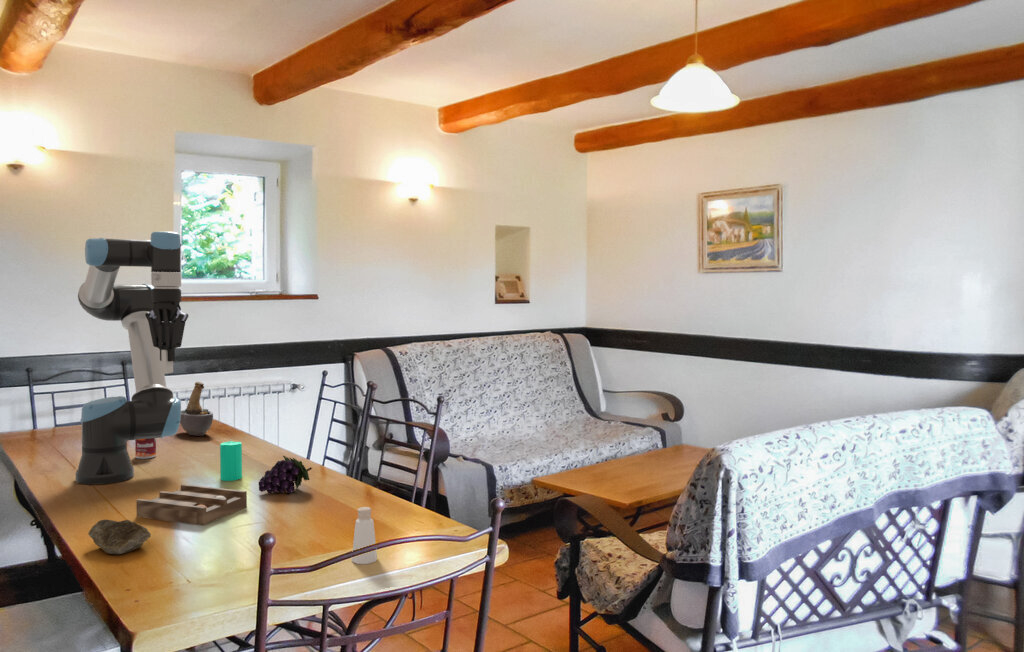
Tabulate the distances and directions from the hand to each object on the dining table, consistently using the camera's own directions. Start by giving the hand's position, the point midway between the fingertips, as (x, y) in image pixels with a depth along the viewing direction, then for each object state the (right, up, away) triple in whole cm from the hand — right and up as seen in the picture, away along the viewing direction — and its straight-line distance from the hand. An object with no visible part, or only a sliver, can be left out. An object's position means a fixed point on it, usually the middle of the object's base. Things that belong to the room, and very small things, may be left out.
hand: (167, 372), depth 215 cm
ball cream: (+21, -32, -18) cm, 43 cm away
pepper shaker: (+65, -36, -53) cm, 91 cm away
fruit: (+33, -33, -1) cm, 47 cm away
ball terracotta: (+20, -32, -26) cm, 46 cm away
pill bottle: (-25, -30, +39) cm, 55 cm away
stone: (+10, -36, -47) cm, 60 cm away
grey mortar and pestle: (-24, -28, +77) cm, 85 cm away
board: (+15, -34, -20) cm, 42 cm away
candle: (+13, -32, +13) cm, 37 cm away
